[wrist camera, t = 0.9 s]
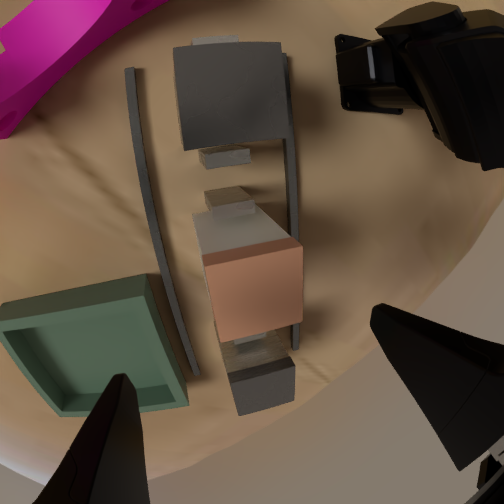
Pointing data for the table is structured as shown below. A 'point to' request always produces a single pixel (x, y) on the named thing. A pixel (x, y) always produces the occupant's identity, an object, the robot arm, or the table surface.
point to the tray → (93, 345)
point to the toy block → (54, 46)
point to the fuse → (250, 273)
